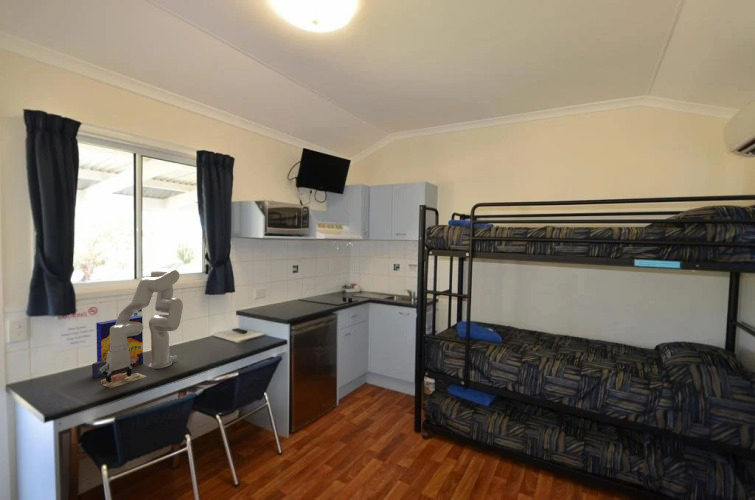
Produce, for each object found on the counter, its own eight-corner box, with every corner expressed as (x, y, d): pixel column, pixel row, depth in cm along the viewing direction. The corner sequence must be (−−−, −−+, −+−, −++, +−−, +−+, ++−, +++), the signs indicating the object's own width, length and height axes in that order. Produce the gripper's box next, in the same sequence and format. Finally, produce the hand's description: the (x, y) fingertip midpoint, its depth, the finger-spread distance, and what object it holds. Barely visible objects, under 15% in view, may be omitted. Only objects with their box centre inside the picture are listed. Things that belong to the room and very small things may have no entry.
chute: (137, 374, 204) (137, 369, 204) (147, 378, 199) (147, 373, 199) (100, 385, 189) (100, 380, 189) (110, 390, 184) (110, 384, 184)
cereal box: (101, 375, 203) (101, 323, 201) (97, 373, 206) (96, 322, 204) (142, 363, 221) (142, 316, 220) (138, 362, 224) (137, 315, 223)
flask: (111, 374, 205) (111, 355, 204) (113, 375, 203) (113, 357, 202) (91, 379, 197) (91, 360, 197) (93, 380, 195) (93, 361, 195)
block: (120, 379, 194) (120, 373, 194) (124, 381, 192) (124, 375, 192) (111, 382, 191) (111, 375, 191) (116, 384, 188) (116, 377, 188)
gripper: (132, 342, 200) (132, 372, 201) (96, 351, 185) (96, 383, 186) (139, 344, 197) (139, 375, 197) (103, 353, 182) (103, 386, 182)
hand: (119, 379), depth 192 cm, fingers open, 9 cm apart
